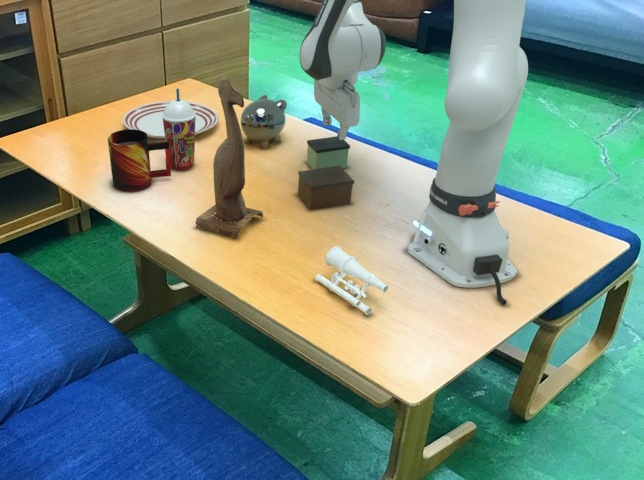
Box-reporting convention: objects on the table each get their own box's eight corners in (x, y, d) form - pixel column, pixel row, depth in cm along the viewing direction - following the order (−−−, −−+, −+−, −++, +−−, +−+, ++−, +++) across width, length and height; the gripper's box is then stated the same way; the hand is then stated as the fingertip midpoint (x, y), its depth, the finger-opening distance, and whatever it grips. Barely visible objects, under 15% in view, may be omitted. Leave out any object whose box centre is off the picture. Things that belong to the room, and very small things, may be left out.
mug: (172, 179, 170) (170, 133, 162) (125, 196, 164) (120, 149, 157) (152, 166, 176) (148, 121, 169) (106, 182, 170) (100, 136, 163)
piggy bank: (296, 138, 187) (298, 97, 180) (261, 156, 179) (262, 113, 172) (264, 128, 193) (266, 88, 186) (229, 145, 185) (229, 103, 178)
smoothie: (193, 174, 172) (190, 95, 159) (162, 172, 174) (156, 94, 161) (200, 160, 178) (197, 83, 166) (169, 158, 180) (164, 82, 167)
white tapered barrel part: (372, 319, 126) (360, 311, 122) (322, 285, 135) (309, 276, 131) (398, 284, 125) (386, 274, 121) (345, 252, 134) (333, 242, 130)
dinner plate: (184, 103, 211) (183, 92, 209) (237, 130, 193) (237, 118, 191) (106, 125, 199) (105, 113, 197) (156, 155, 181) (155, 144, 179)
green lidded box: (347, 168, 172) (350, 145, 168) (314, 172, 170) (316, 150, 167) (337, 157, 177) (339, 135, 173) (305, 162, 175) (307, 140, 171)
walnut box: (351, 204, 157) (354, 180, 153) (309, 211, 155) (311, 187, 152) (337, 188, 163) (339, 165, 160) (296, 194, 162) (298, 171, 158)
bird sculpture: (240, 241, 146) (242, 93, 126) (194, 228, 151) (189, 83, 131) (264, 218, 153) (269, 75, 133) (219, 207, 158) (217, 66, 138)
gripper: (369, 86, 152) (363, 145, 160) (334, 61, 167) (330, 116, 176) (343, 90, 151) (338, 149, 159) (310, 64, 167) (307, 119, 175)
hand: (334, 131), depth 168 cm, fingers open, 8 cm apart
